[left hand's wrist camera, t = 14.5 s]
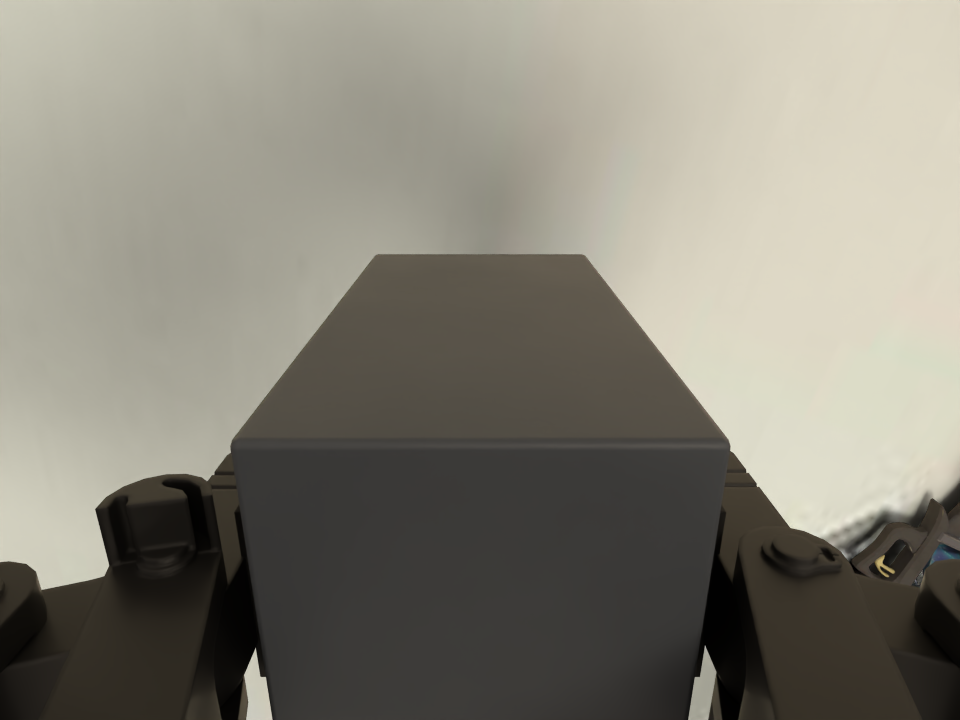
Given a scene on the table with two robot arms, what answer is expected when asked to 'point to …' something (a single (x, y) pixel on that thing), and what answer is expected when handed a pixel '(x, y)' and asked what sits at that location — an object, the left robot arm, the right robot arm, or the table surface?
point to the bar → (480, 502)
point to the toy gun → (914, 546)
